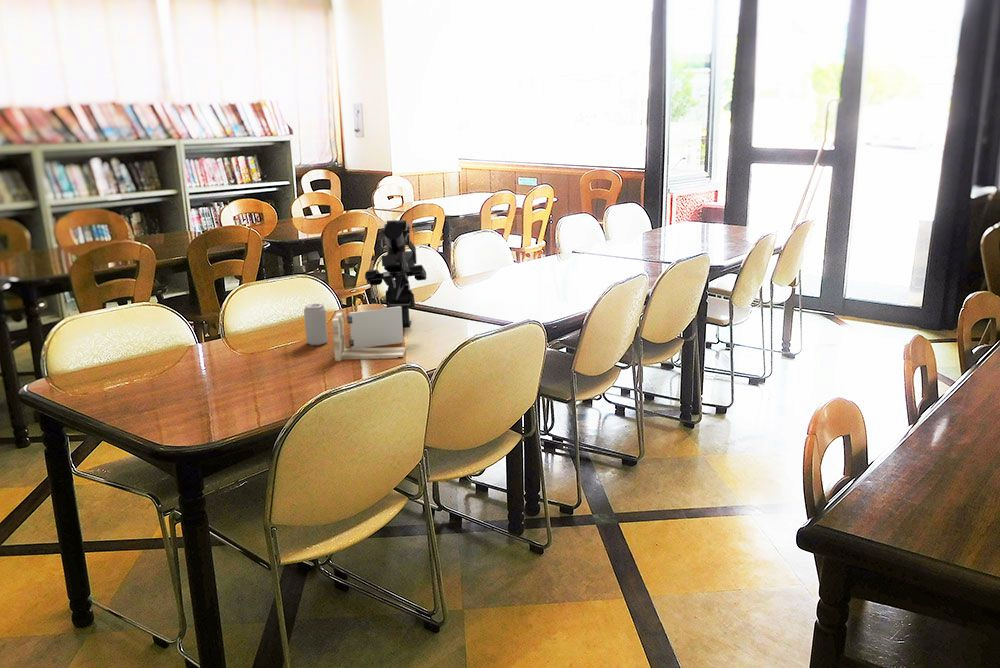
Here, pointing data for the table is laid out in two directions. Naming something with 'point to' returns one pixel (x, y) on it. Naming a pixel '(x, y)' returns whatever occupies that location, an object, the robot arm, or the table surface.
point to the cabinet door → (375, 327)
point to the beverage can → (315, 324)
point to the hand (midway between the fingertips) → (395, 299)
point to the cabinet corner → (358, 352)
